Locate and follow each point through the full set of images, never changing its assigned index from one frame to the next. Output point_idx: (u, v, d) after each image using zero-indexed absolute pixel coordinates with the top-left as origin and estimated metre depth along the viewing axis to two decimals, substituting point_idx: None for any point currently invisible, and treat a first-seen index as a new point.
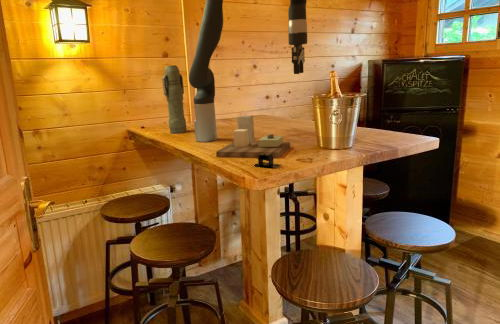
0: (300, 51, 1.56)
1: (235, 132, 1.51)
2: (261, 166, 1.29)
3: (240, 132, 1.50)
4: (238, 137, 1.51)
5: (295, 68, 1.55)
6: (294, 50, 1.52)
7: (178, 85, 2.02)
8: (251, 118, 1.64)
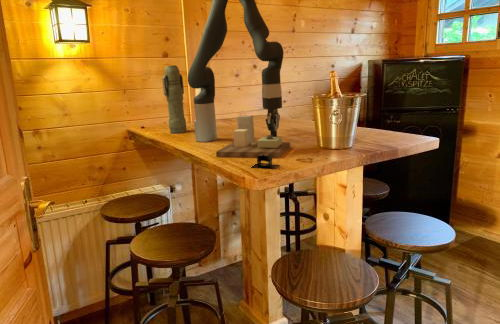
0: (275, 117, 1.49)
1: (235, 132, 1.51)
2: (260, 167, 1.28)
3: (240, 132, 1.50)
4: (238, 137, 1.51)
5: None
6: (269, 122, 1.46)
7: (178, 85, 2.02)
8: (251, 118, 1.64)
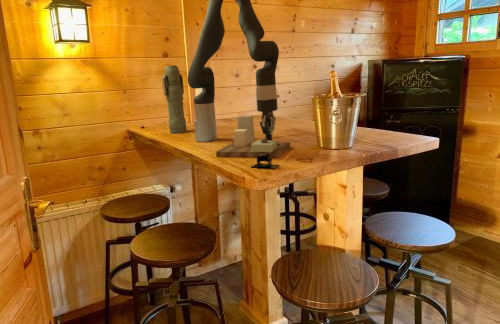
0: (270, 120, 1.42)
1: (235, 132, 1.51)
2: (260, 167, 1.27)
3: (240, 132, 1.50)
4: (238, 137, 1.51)
5: (267, 139, 1.45)
6: (263, 125, 1.40)
7: (178, 85, 2.02)
8: (251, 118, 1.64)
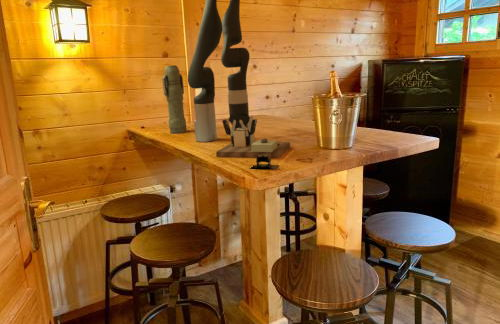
0: (233, 122, 1.51)
1: (235, 132, 1.51)
2: (260, 168, 1.26)
3: (240, 132, 1.50)
4: (238, 137, 1.51)
5: None
6: None
7: (178, 85, 2.02)
8: (251, 118, 1.64)
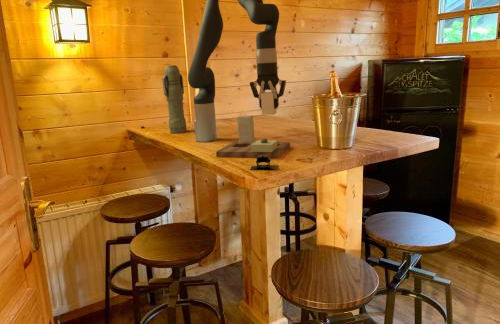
0: None
1: (263, 94, 1.43)
2: (261, 169, 1.26)
3: (268, 94, 1.43)
4: (266, 100, 1.43)
5: None
6: None
7: (178, 85, 2.02)
8: (251, 118, 1.64)
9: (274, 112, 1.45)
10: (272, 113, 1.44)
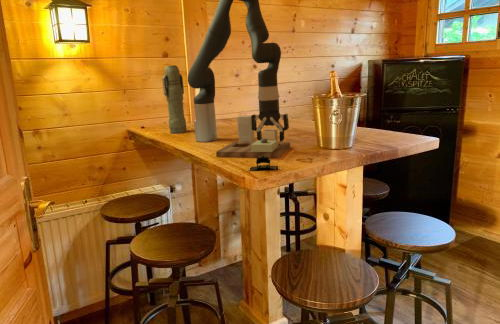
0: (262, 119, 1.47)
1: (265, 132, 1.47)
2: (261, 169, 1.25)
3: (270, 132, 1.46)
4: (268, 137, 1.47)
5: None
6: None
7: (178, 85, 2.02)
8: None
9: None
10: None
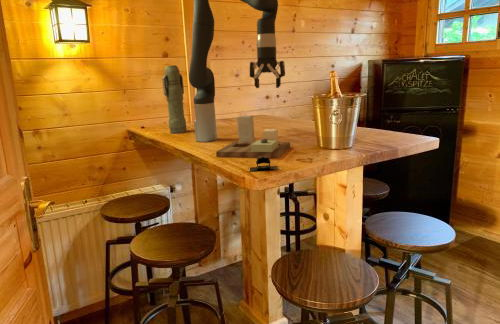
0: (260, 66, 1.55)
1: (265, 132, 1.47)
2: (261, 170, 1.24)
3: (270, 132, 1.46)
4: (268, 137, 1.47)
5: None
6: None
7: (178, 85, 2.02)
8: (251, 118, 1.64)
9: None
10: None
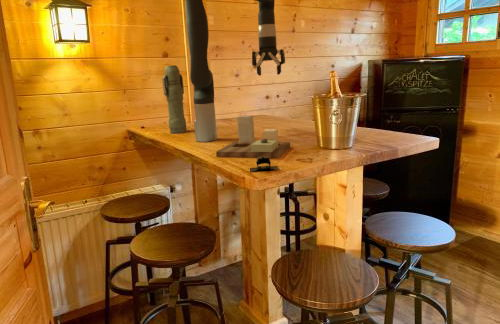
0: (262, 54, 1.67)
1: (265, 132, 1.47)
2: (262, 170, 1.24)
3: (270, 132, 1.46)
4: (268, 137, 1.47)
5: None
6: None
7: (178, 85, 2.02)
8: (251, 118, 1.64)
9: None
10: None
